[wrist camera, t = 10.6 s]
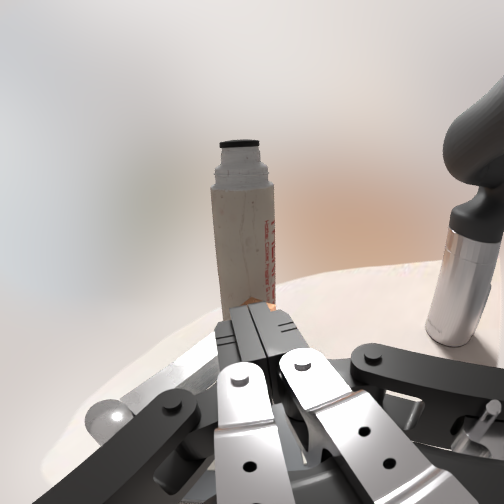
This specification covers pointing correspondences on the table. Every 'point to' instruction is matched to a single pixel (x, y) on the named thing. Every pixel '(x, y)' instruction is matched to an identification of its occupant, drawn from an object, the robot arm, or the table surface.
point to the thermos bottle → (243, 225)
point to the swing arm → (159, 387)
